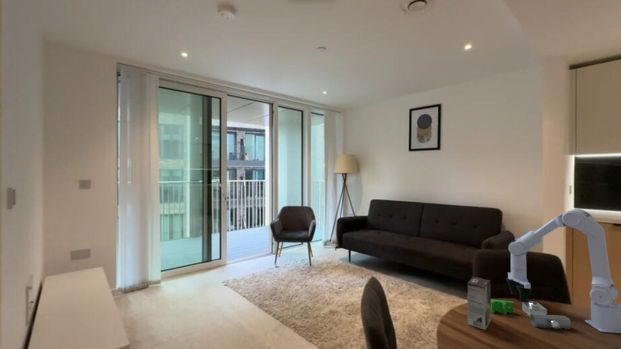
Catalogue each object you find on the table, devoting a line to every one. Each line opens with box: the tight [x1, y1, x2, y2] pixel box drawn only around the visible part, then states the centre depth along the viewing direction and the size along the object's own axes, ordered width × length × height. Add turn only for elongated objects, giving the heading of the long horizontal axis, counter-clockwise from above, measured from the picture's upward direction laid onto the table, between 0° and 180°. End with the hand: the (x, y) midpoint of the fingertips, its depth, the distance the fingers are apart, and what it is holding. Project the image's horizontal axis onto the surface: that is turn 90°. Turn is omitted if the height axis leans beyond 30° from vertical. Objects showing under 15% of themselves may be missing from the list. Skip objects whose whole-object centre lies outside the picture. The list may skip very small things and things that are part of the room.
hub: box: [521, 301, 548, 317], centre depth 120 cm, size 6×6×5 cm
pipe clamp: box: [491, 298, 514, 316], centre depth 122 cm, size 11×4×5 cm, turn 67°
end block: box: [529, 314, 572, 330], centre depth 109 cm, size 12×5×4 cm, turn 81°
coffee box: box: [466, 276, 492, 331], centre depth 113 cm, size 9×6×16 cm
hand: (518, 298), depth 131 cm, fingers open, 7 cm apart
